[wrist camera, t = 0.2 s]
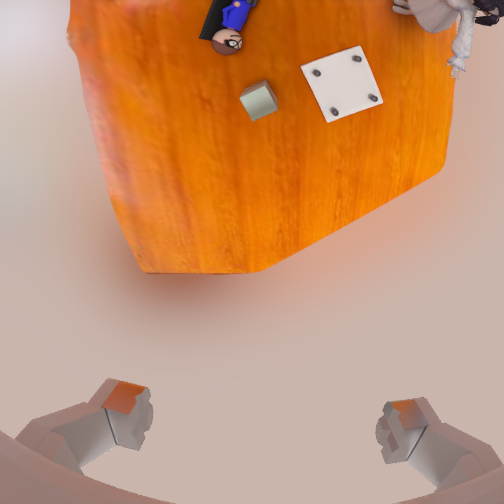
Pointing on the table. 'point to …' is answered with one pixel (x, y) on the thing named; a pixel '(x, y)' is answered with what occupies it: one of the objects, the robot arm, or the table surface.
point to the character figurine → (226, 24)
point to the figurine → (444, 15)
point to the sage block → (259, 100)
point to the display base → (342, 83)
